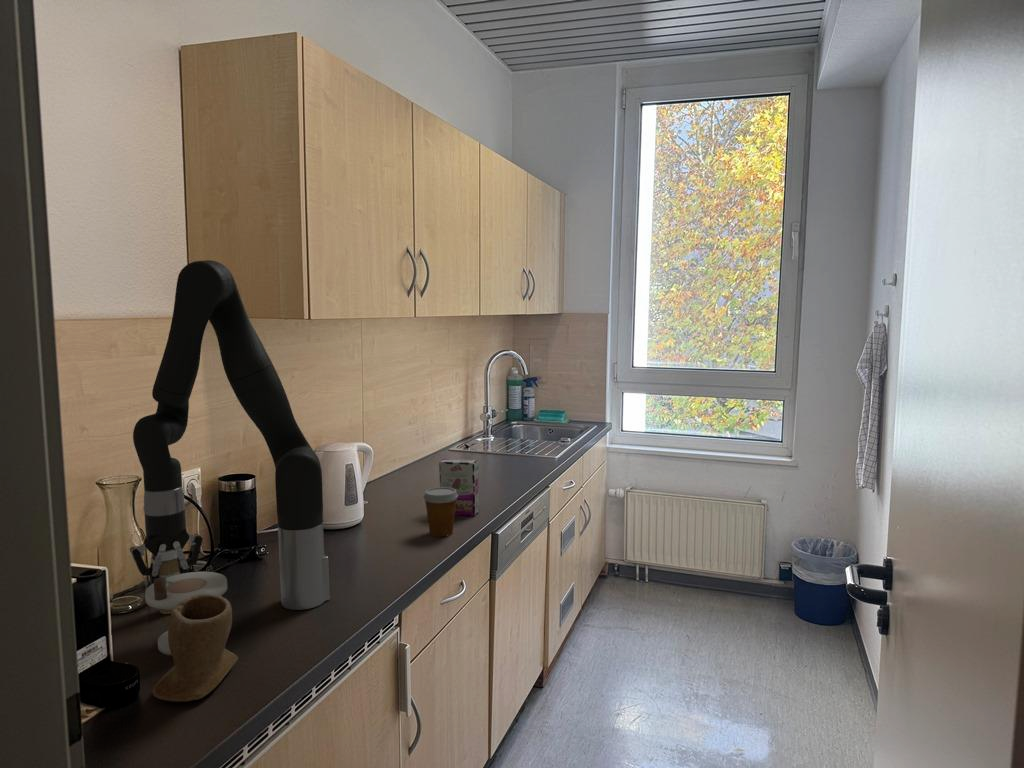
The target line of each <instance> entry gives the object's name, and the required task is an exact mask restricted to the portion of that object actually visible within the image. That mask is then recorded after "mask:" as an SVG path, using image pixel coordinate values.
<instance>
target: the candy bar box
mask: <svg viewBox="0 0 1024 768" xmlns="http://www.w3.org/2000/svg"><path fill="white" fill-rule="evenodd" d="M438 464H439V465H438V466H439V487H447V488H453V489H455V490H456V492H457V494H458V497H457V499H456V507H455V516H462V517H463V516H465V517H466V516H467V517H475V516H476V515H478V514H479V513H480V493H479V492H480V490H479V489H480V486H479V484H480V483H479V481H480V480H479V477H480V475H479V460H478V459H462V458H461V459H458V458H456V459H455V458H443V459H442V460H440V461H439V463H438Z"/></svg>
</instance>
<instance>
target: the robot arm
mask: <svg viewBox="0 0 1024 768" xmlns="http://www.w3.org/2000/svg"><path fill="white" fill-rule="evenodd" d="M174 294H175V296H174V303H173V312H172V318H171V323H170V328H169V333H168V337H167V342H166V345H165V348H164V351H163V355H162V358H161V360H160V363H159V364H160V365H159V368H158V370H157V374H156V378H155V379H154V383H153V387H152V392H151V395H152V398H153V400H154V401H155V402H156V403H157V408H156V411H155V413H153V414H148V415H145V416H142V418H139V420H138V421H137V422H136V423H135V425H134V428H133V431H132V432H133V433H132V440H133V446H134V448H135V452H136V455H137V457H138V461H139V463H140V465H141V467H142V473H143V475H142V476H143V490H144V492H143V507H142V508H143V511H144V525H145V538H144V540H143V543H142V544H139V545H137V546H131V547H130V548H129V551H130V554H131V556H132V558H133V560H134V563H135V565H136V567H137V569H138V571H139V574H141V576H149V586H150V585H152V584H153V583H154V582H153V580H154V579H156V578H159V575H158V572H159V568H160V565H161V563H162V557H161V556H160V555H161V554H162V553H163V552H165V551H167V550H171V549H175V550H177V555H178V559H179V566H180V574H183V573H189V567H191V566H192V565H196V564H197V563H198V559H199V556H200V551H201V548H202V544H203V543H202V542H203V539H204V538H203V537H202V536H201V535H200V534H198V533H196V534H189V533H188V531H187V520H186V518H187V517H186V506H185V505H186V504H185V493H184V489H183V477H182V476H183V475H182V466H181V462H180V461H179V460H178V459H177V458H175V457H172V456H171V453H170V448H169V446H171V445H174V444H175V443H177V442H179V441H180V440H181V439H182V438H183V436H184V435H185V432H186V430H187V427H188V423H189V422H188V421H189V412H190V411H189V409H190V404H189V401H190V398H191V395H192V392H193V389H194V386H195V382H196V379H197V376H198V373H199V367H200V362H201V353H202V343H203V338H204V334H205V330H206V328H207V325H208V323H210V324H211V326H212V328H213V330H214V332H215V336H216V340H217V342H218V347H219V353H220V357H221V358H220V359H221V363H222V366H223V369H224V373H225V377H227V381H228V382H229V385H230V387H231V389H232V390H233V393H234V395H235V397H236V399H237V400H238V402H239V404H240V406H241V408H243V410H244V412H245V413H246V414H247V416H248V417H249V418H250V420H251V421H252V423H253V425H255V426H256V428H257V429H258V430H259V432H260V434H261V435H262V437H263V439H264V441H265V444H266V445H267V448H268V450H269V453H270V455H271V458H272V461H273V464H274V469H275V473H274V475H275V476H274V479H275V480H274V482H275V484H274V485H275V499H276V516H277V517H276V518H277V536H278V554H279V555H278V557H279V579H280V580H279V581H280V584H279V585H280V599H281V600H280V601H281V602H280V603H281V606H282V607H283V608H284V609H288V610H295V611H300V610H308V609H312V608H317V607H318V606H321V605H322V604H323V603H324V602H326V601H329V600H330V599H331V597H330V571H329V557H328V556H327V555H326V554H325V539H324V503H323V502H324V501H323V499H324V498H323V495H324V494H323V471H322V466H321V462H320V459H319V456H318V455H317V454H316V452H315V451H314V450H313V447H311V444H309V442H308V440H307V439H306V437H305V435H304V433H303V431H302V430H301V428H300V427H299V425H298V423H297V421H296V419H295V417H294V413H293V410H292V407H291V404H290V401H289V399H288V395H287V393H286V391H285V388H284V386H283V383H282V381H281V379H280V377H279V375H278V372H277V370H276V368H275V366H274V364H273V361H272V360H271V358H270V356H269V354H268V353H267V350H266V348H265V346H264V345H263V342H262V341H261V339H260V337H259V335H258V333H257V331H256V330H255V327H254V326H253V324H252V322H251V321H250V318H249V316H248V313H247V311H246V308H245V306H244V303H243V300H242V297H241V294H240V292H239V288H238V286H237V283H236V281H235V278H234V275H233V274H232V272H231V271H230V269H229V268H228V267H226V266H225V265H224V264H222V263H221V262H219V261H216V260H210V259H209V260H208V259H207V260H196V261H195V260H194V261H192V262H190V263H187V264H186V265H185V266H184V267H182V269H181V270H180V272H179V273H178V276H177V280H176V287H175V293H174ZM188 541H189V544H190V549H189V552H188V555H187V558H186V555H185V554H184V551H183V549H184V547H185V546H186V545H187V543H188ZM145 550H147V551H148V552H149V553H151V557H150V563H149V567H147V566H146V564H145V561H144V559H143V557H144V555H145ZM155 557H156V559H155Z"/></svg>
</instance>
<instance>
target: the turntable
mask: <svg viewBox="0 0 1024 768" xmlns="http://www.w3.org/2000/svg"><path fill="white" fill-rule="evenodd" d="M153 582H154V583H153V584H152V585H150V584H149V586H148V587H146V589H145V592H144V594H145V595H144V597H145V603H146V604H147V605H148V607H151V608H154V609H158V610H159V609H174V608H175V607H176V605H177V604H178V603H179V602H181V601H182V600H184V599H186V598H188V597H190V596H194V595H198V594H215V595H219V596H222V597H223V595H224V594H225V593H226V592H227V590H228V579H227V577H226V576H225V575H224V574H221V573H218V572H215V571H191V572H188V573H183V574H178V575H174V576H170V577H167V578H164V577H160V578H156V579H154V580H153Z"/></svg>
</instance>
